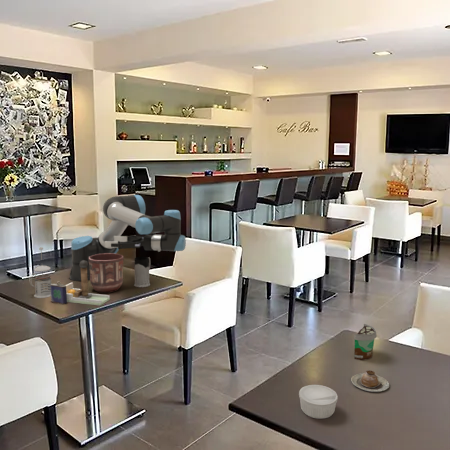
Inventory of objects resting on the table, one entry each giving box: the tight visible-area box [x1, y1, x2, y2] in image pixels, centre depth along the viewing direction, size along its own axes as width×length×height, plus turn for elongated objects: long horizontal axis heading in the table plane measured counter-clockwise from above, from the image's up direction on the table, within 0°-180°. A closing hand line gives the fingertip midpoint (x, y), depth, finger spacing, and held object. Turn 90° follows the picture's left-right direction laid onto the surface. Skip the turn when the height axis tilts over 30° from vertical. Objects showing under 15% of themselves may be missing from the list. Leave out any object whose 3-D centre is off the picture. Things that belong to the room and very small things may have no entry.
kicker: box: [74, 260, 93, 299], centre depth 237 cm, size 6×6×19 cm
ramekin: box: [298, 384, 338, 420], centre depth 141 cm, size 11×11×5 cm
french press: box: [28, 246, 52, 299], centre depth 245 cm, size 10×12×25 cm
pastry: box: [350, 370, 390, 393], centre depth 157 cm, size 12×12×5 cm
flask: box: [50, 280, 68, 305], centre depth 235 cm, size 9×3×11 cm, turn 65°
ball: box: [68, 289, 76, 297], centre depth 241 cm, size 4×4×4 cm
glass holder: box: [133, 256, 151, 288], centre depth 267 cm, size 9×14×15 cm, turn 162°
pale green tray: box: [65, 281, 111, 306], centre depth 238 cm, size 9×22×7 cm, turn 74°
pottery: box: [88, 253, 125, 294], centre depth 255 cm, size 18×18×18 cm
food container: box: [353, 323, 378, 361], centre depth 177 cm, size 12×6×10 cm, turn 148°
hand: (109, 241), depth 233 cm, fingers open, 13 cm apart
